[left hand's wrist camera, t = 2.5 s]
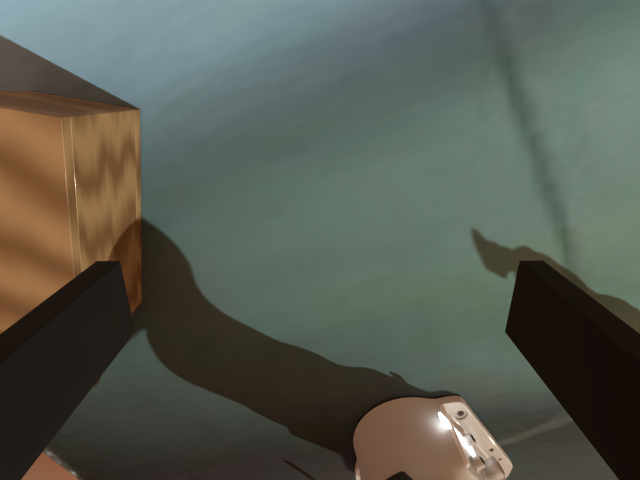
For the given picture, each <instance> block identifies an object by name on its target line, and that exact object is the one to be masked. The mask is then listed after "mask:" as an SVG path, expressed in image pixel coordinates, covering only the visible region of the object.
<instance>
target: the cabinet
mask: <svg viewBox="0 0 640 480" xmlns="http://www.w3.org/2000/svg"><path fill="white" fill-rule="evenodd" d="M96 261H120V262H121V267H122V272H123V277H124V282H125V286H126V291H127V296H128V301H129V306H130V311H131V314H132V313H133V312H134V311H135V309H136V308H137V307H138V306H139V305H140V304H141V303H142V265H141V161H140V109H135V108H128V107H122V106H116V105H110V104H104V103H98V102H92V101H86V100H80V99H74V98H68V97H62V96H56V95H50V94H44V93H38V92H32V91H0V334H1V333H2V332H4V331H5V330H6V329H8V328H9V327H10V326H12V325H13V324H14V323H16V322H17V321H18V320H19V319H21V318H22V317H23V316H25V315H26V314H27V313H29V312H30V311H31V310H33V309H34V308H35V307H37V306H38V305H39V304H41V303H42V302H43V301H45V300H46V299H47V298H49V297H50V296H51V295H52V294H54V293H55V292H56V291H58V290H59V289H60V288H62V287H63V286H64V285H66V284H67V283H68V282H70V281H71V280H72V279H74V278H75V277H76V276H78V275H79V274H80V273H81V272H83V271H84V270H85V269H87V268H88V267H89V266H91V265H92V264H93V263H95V262H96Z"/></svg>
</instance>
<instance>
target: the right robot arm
mask: <svg viewBox="0 0 640 480" xmlns="http://www.w3.org/2000/svg"><path fill="white" fill-rule="evenodd" d="M353 445H354V450H355V453H356V457H357V461H356V465H355V470H354V471H355V477H356V480H505V479H506V478H507V477H508V475H509V473H510V472H511V469H512V463H511V461H510V459H509V457H508V456H507V454H506V453H505V452H504V451H503V449H502V448H501V447H500V445H499V444H498V443H497V442H496V440H495V439H494V438H493V437H492V435H491V434H490V433H489V431H488V430H487V429H486V428H485V426H484V425H483V424H482V422H481V421H480V420H479V419H478V417H477V416H476V415H475V414H474V412H473V411H472V410H471V408H470V407H469V406H468V405H467V403H466V402H465V401H464V399H463V398H461V397H460V396H447V397H442V398H437V399H428V398H420V397H406V398H399V399H395V400H391V401H388V402H385V403H383V404H381V405H379V406H377V407H375V408H374V409H372V410H371V411H369V412H368V413H367V414H366V415H365V416H364V417H363V418H362V419H361V421H360V422H359V424H358V425H357V427H356V429H355V432H354V437H353Z"/></svg>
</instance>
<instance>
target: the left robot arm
mask: <svg viewBox="0 0 640 480" xmlns="http://www.w3.org/2000/svg"><path fill="white" fill-rule="evenodd" d="M134 332H135V330H134V325H133V320H132V315H131V311H130V306H129V301H128V296H127V291H126V286H125V282H124V277H123V272H122V267H121V262H120V261H96V262H95V263H93V264H92V265H91V266H89V267H88V268H87V269H85V270H84V271H83V272H81V273H80V274H79V275H78V276H76V277H75V278H74V279H72V280H71V281H70V282H68V283H67V284H66V285H64V286H63V287H62V288H60V289H59V290H58V291H56V292H55V293H54V294H52V295H51V296H50V297H49V298H47V299H46V300H45V301H43V302H42V303H41V304H39V305H38V306H37V307H35V308H34V309H33V310H31V311H30V312H29V313H27V314H26V315H25V316H23V317H22V318H21V319H19V320H18V321H17V322H16V323H14V324H13V325H12V326H10V327H9V328H8V329H6V330H5V331H4V332H2V333H1V334H0V480H21V479H22V478H23V476H24V475H25V474H26V472H27V471H28V470H29V468H30V467H31V466H32V465H33V463H34V462H35V461H36V459H37V458H38V457H39V456H40V454H41V453H42V452H43V450H44V449H45V448H46V446H47V445H48V444H49V443H50V441H51V440H52V439H53V437H54V436H55V435H56V433H57V432H58V431H59V430H60V428H61V427H62V426H63V424H64V423H65V422H66V421H67V419H68V418H69V417H70V415H71V414H72V413H73V411H74V410H75V409H76V408H77V406H78V405H79V404H80V402H81V401H82V400H83V398H84V397H85V396H86V395H87V393H88V392H89V391H90V389H91V388H92V387H93V385H94V384H95V383H96V382H97V380H98V379H99V378H100V376H101V375H102V374H103V373H104V371H105V370H106V369H107V367H108V366H109V365H110V363H111V362H112V361H113V360H114V358H115V357H116V356H117V354H118V353H119V352H120V350H121V349H122V348H123V347H124V345H125V344H126V343H127V341H128V340H129V339H130V338H131V336H132V335H133V334H134ZM505 332H506V334H507V335H508V336H509V338H510V339H511V340H512V341H513V343H514V344H515V345H516V347H517V348H518V349H519V350H520V352H521V353H522V354H523V356H524V357H525V358H526V360H527V361H528V362H529V363H530V365H531V366H532V367H533V369H534V370H535V371H536V373H537V374H538V375H539V376H540V378H541V379H542V380H543V382H544V383H545V384H546V386H547V387H548V388H549V389H550V391H551V392H552V393H553V395H554V396H555V397H556V398H557V400H558V401H559V402H560V404H561V405H562V406H563V408H564V409H565V410H566V411H567V413H568V414H569V415H570V417H571V418H572V419H573V421H574V422H575V423H576V424H577V426H578V427H579V428H580V430H581V431H582V432H583V433H584V435H585V436H586V437H587V439H588V440H589V441H590V443H591V444H592V445H593V446H594V448H595V449H596V450H597V452H598V453H599V454H600V456H601V457H602V458H603V459H604V461H605V462H606V463H607V465H608V466H609V467H610V468H611V470H612V471H613V472H614V474H615V475H616V476H617V478H618V479H619V480H640V334H639V333H638V332H636V331H635V330H634V329H632V328H631V327H630V326H628V325H627V324H626V323H624V322H623V321H622V320H621V319H619V318H618V317H617V316H615V315H614V314H613V313H611V312H610V311H609V310H607V309H606V308H605V307H603V306H602V305H601V304H599V303H598V302H597V301H595V300H594V299H593V298H591V297H590V296H589V295H588V294H586V293H585V292H584V291H582V290H581V289H580V288H578V287H577V286H576V285H574V284H573V283H572V282H570V281H569V280H568V279H566V278H565V277H564V276H562V275H561V274H560V273H559V272H557V271H556V270H555V269H553V268H552V267H551V266H549V265H548V264H547V263H545V262H544V261H520V262H519V267H518V272H517V277H516V282H515V286H514V291H513V296H512V301H511V306H510V311H509V315H508V320H507V325H506V330H505Z"/></svg>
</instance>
